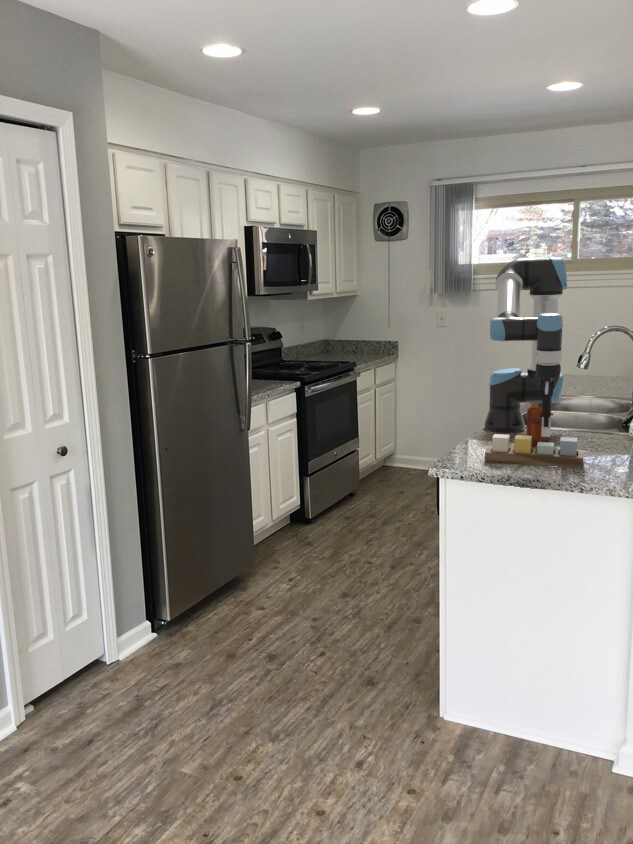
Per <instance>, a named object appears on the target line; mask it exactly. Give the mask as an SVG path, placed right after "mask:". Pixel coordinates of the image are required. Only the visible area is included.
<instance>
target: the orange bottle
mask: <svg viewBox="0 0 633 844" xmlns="http://www.w3.org/2000/svg"><path fill="white" fill-rule="evenodd" d="M526 411H527V412H526V415H525V416H524V419H525V421H524V422H526V424H525V425H526V426H525V427H526V432H525V433H526V434H524V435H525V436H532V447H536V448H537V444H538V442H549V439H548V438H549V437H545V436H541V431H542V417H540V415H542V406H541V407H540V406H539V403H537V402H532V403H530V407H528V408H527V409H526Z"/></svg>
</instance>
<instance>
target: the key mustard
mask: <svg viewBox="0 0 633 844" xmlns="http://www.w3.org/2000/svg"><path fill="white" fill-rule="evenodd" d="M525 435H526V434H524V435H523V434H522V435H520V434H516V435H515V436H514V445H513V446H514V453H531V448H532V436H525Z"/></svg>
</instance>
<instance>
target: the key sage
mask: <svg viewBox="0 0 633 844" xmlns="http://www.w3.org/2000/svg"><path fill="white" fill-rule="evenodd" d="M554 448H555V442H549V441H548V442H538V444H537V454H550V455H554Z"/></svg>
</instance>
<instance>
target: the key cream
mask: <svg viewBox="0 0 633 844" xmlns="http://www.w3.org/2000/svg"><path fill="white" fill-rule="evenodd" d="M510 437H511V436H510V434H504V433H499V434H498V433H497V434H496V433H493V436H492V438H491V439H492V443H491V445H492V451H495V452H509V447H510V446H511V445H510V441H511V440H510V439H511V438H510Z"/></svg>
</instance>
